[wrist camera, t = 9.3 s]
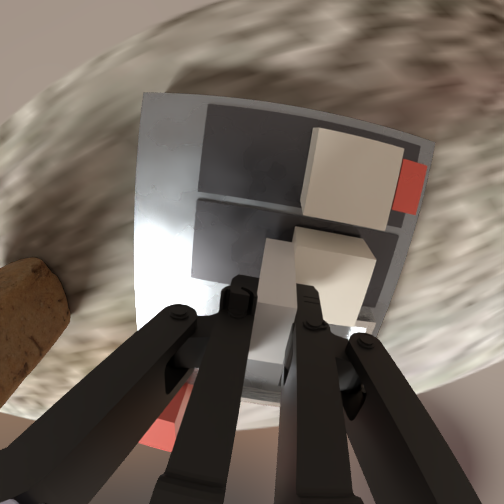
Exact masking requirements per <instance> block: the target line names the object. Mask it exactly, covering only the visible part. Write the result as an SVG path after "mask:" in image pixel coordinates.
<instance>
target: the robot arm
mask: <svg viewBox="0 0 504 504" xmlns="http://www.w3.org/2000/svg"><path fill="white" fill-rule="evenodd" d="M319 299H320V297H319V292H318V291H317V290H316V289H315V287H314V286H310V285H304V284H298V283H296V274H295V258H294V244H293V243H292V242H287V241H281V240H275V239H269V238H266V243H265V249H264V254H263V260H262V266H261V272H260V278H257V277H251V276H246V275H240V274H238V275H237V276H235V277H234V278H232V281H231V284H230V285H228V286H226V287H224V288H223V289H222V290H221V296H220V305H219V311H218V313H215V314H212V315H206V316H197V312H196V311H195V309H194V308H192V307H190V306H188V305H184V304H172V305H168V306H166V307H164V308H163V309H162V310H161V311H160V312H158V313H157V314H156V315H155V316H154V317H153V318H151V319H150V320H149V321H148V322H147V323H146V324H145V325H143V326H142V327H141V328H140V329H139V330H138V331H137V332H135V333H134V334H133V335H132V336H131V337H130V338H128V339H127V340H126V341H125V342H124V343H123V344H122V345H120V346H119V347H118V348H117V349H116V350H115V351H114V352H113V353H111V354H110V355H109V356H108V357H107V358H106V359H105V360H103V361H102V362H101V363H100V364H99V365H98V366H97V367H96V368H94V369H93V370H92V371H91V372H90V373H89V374H88V375H86V376H85V377H84V378H83V379H82V380H81V381H80V382H79V383H77V384H76V385H75V386H74V387H73V388H72V389H71V390H70V391H69V392H67V393H66V394H65V395H64V396H63V397H62V398H61V399H60V400H58V401H57V402H56V403H55V404H54V405H53V406H52V407H51V408H50V409H48V410H47V411H46V412H45V413H44V414H43V415H42V416H41V417H40V418H38V419H37V420H36V421H35V422H34V423H33V424H32V425H31V426H30V427H29V428H27V430H25V431H24V432H23V433H22V434H21V435H20V436H19V437H18V438H17V439H15V440H14V441H13V442H12V443H11V444H10V445H9V446H8V447H7V448H5V449H2V450H0V504H88V503H89V502H90V501H91V500H92V498H93V497H94V496H95V495H96V494H97V492H98V491H99V490H100V489H101V487H102V486H103V485H104V484H105V483H106V482H107V480H108V479H109V478H110V477H111V475H112V474H113V473H114V472H115V470H116V469H117V468H118V467H119V466H120V464H121V463H122V462H123V461H124V460H125V458H126V457H127V456H128V455H129V453H130V452H131V451H132V449H133V448H134V447H135V446H136V445H137V443H138V442H139V441H140V440H141V438H142V437H143V436H144V435H145V433H146V432H147V431H148V430H149V428H150V427H151V426H152V425H153V423H154V422H155V421H156V420H157V418H158V417H159V416H160V414H161V413H162V412H163V411H164V409H165V408H166V407H167V406H168V404H169V403H170V402H171V400H172V399H173V398H174V397H175V395H176V394H177V393H178V391H179V390H180V389H181V388H182V386H183V385H184V384H185V382H186V381H187V380H188V378H189V377H190V376H191V375H192V373H193V371H194V369H195V368H199V370H198V373H197V376H196V379H195V382H194V385H193V388H192V391H191V394H190V397H189V400H188V403H187V406H186V409H185V413H184V416H183V419H182V422H181V425H180V428H179V431H178V434H177V437H176V440H175V443H174V446H173V449H172V452H171V455H170V458H169V462H168V465H167V468H166V470H165V472H164V474H162V475H160V477H159V478H158V480H157V483H156V485H155V488H154V491H153V494H152V497H151V500H150V503H149V504H223V502H224V496H225V490H226V483H227V477H228V471H229V466H230V460H231V454H232V449H233V443H234V437H235V431H236V426H237V420H238V414H239V408H240V402H241V396H242V390H243V384H244V378H245V372H246V366H247V360H248V359H252V360H258V361H264V362H271V363H277V364H283V360H284V357H285V362H284V367H283V370H282V374H281V377H280V380H279V384H278V386H281V400H280V419H279V437H278V453H277V468H276V482H275V497H274V504H364V503H363V501H362V499H361V498H360V497H357V496H355V495H354V493H353V490H352V481H351V471H350V462H349V452H348V443H347V435H348V438H349V440H350V442H351V445H352V447H353V450H354V452H355V454H356V457H357V459H358V462H359V464H360V467H361V469H362V471H363V474H364V476H365V479H366V481H367V483H368V486H369V488H370V491H371V493H372V496H373V498H374V501H375V503H376V504H482V503H481V501H480V500H479V498H478V496H477V494H476V492H475V491H474V489H473V487H472V485H471V483H470V482H469V480H468V478H467V477H466V475H465V473H464V471H463V470H462V468H461V466H460V464H459V463H458V461H457V459H456V458H455V456H454V454H453V453H452V451H451V449H450V448H449V446H448V444H447V443H446V441H445V440H444V438H443V436H442V435H441V433H440V432H439V430H438V428H437V427H436V425H435V423H434V422H433V420H432V419H431V417H430V416H429V414H428V412H427V411H426V409H425V408H424V406H423V404H422V403H421V401H420V400H419V398H418V397H417V395H416V394H415V392H414V391H413V389H412V388H411V386H410V385H409V383H408V382H407V380H406V379H405V377H404V376H403V374H402V373H401V371H400V370H399V368H398V367H397V365H396V364H395V362H394V361H393V359H392V358H391V356H390V355H389V353H388V352H387V350H386V349H385V347H384V346H383V345H382V343H381V342H380V341H379V340H378V339H377V338H376V337H374V336H373V335H371V334H369V333H365V332H356V333H353V334H352V335H350V338H349V339H346V338H343V337H340V336H337V335H335V334H333V333H332V332H331V330H330V326H329V324H328V323H327V322H326V321H325V320H323V315H322V309H321V305H320V304H321V303H320V300H319ZM346 433H347V435H346Z"/></svg>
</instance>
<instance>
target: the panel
mask: <svg viewBox="0 0 504 504" xmlns="http://www.w3.org/2000/svg"><path fill="white" fill-rule="evenodd" d="M313 128H324V129H329V130H333V131H338V132H342V133H347V134H351V135H355V136H359V137H364V138H368V139H372V140H375V141H379V142H383V143H387V144H390V145H394V146H397V147H401V148H404V153H403V158H402V163H401V167H400V172H399V177H398V181H397V185H396V190H395V194H394V198H393V202H392V206H391V210H390V214H389V218H388V222H387V225H386V229H385V231H382V230H377V229H372V228H367V227H362V226H357V225H352V224H347V223H342V222H337V221H332V220H326V219H321V218H316V217H310V216H305V215H303V212H302V207H301V202H300V198H301V193H302V187H303V182H304V176H305V171H306V165H307V160H308V154H309V148H310V142H311V137H312V131H313ZM434 147H435V142H433V141H430V140H427V139H424V138H421V137H418V136H415V135H412V134H408V133H405V132H402V131H399V130H395V129H392V128H388V127H385V126H381V125H377V124H374V123H370V122H366V121H362V120H358V119H354V118H350V117H346V116H341V115H337V114H332V113H328V112H323V111H318V110H313V109H307V108H302V107H297V106H291V105H285V104H278V103H272V102H265V101H258V100H250V99H242V98H233V97H223V96H211V95H198V94H181V93H148V92H144V94H143V102H142V110H141V119H140V129H139V140H138V152H137V166H136V184H135V213H134V268H135V296H136V314H137V329H138V330H139V329H140V328H141V327H142V326H143V325H145V324H146V323H147V322H148V321H149V320H150V319H151V318H153V317H154V316H155V315H156V314H157V313H158V312H160V311H161V310H162V309H163V308H164V307H166V306H168V305H172V304H184V305H188V306H190V307H192V308H194V309H195V311H196V312H197V316H206V315H212V314H215V313H218V311H219V305H220V296H221V290H222V289H223V288H224V287H226V286H228V285H230V284H231V281H232V278H234V277H235V276H237V275H238V274H240V275H246V276H251V277H257V278H260V272H261V266H262V260H263V254H264V249H265V243H266V238H269V239H275V240H281V241H287V242H292V239H293V234H294V229H295V226H297V227H302V228H308V229H313V230H319V231H324V232H330V233H335V234H341V235H346V236H351V237H356V238H362V239H364V241H365V242H366V244H367V246H368V247H369V249H370V250H371V252H372V253H373V255H374V257H375V258H376V263H375V267H374V270H373V273H372V276H371V279H370V282H369V285H368V288H367V291H366V294H365V297H364V300H363V303H362V306H361V309H360V312H359V314H358V317H357V320H356V323H355V325H354V327H349V326H342V325H334V324H329V326H330V330H331V332H332V333H333V334H335V335H337V336H340V337H343V338H346V339H349V338H350V335H352V334H353V333H356V332H365V333H369V334H371V335H373V336H374V337H376V336H377V334H378V331H379V329H380V326H381V324H382V322H383V319H384V317H385V314H386V312H387V309H388V306H389V304H390V301H391V299H392V296H393V293H394V290H395V288H396V285H397V282H398V279H399V276H400V274H401V271H402V268H403V265H404V262H405V259H406V256H407V252H408V249H409V246H410V243H411V240H412V236H413V233H414V230H415V226H416V223H417V219H418V215H419V212H420V208H421V204H422V200H423V196H424V192H425V188H426V184H427V180H428V175H429V171H430V166H431V162H432V157H433V152H434ZM284 362H285V357H284V360H283V364H277V363H271V362H264V361H258V360H252V359H248V360H247V366H246V372H245V378H244V384H243V390H242V396H241V401H242V402H248V403H254V404H261V405H268V406H275V407H280V400H281V386H278V384H279V380H280V377H281V374H282V370H283V367H284ZM198 370H199V368H195V369H194V371H193V373H192V375H191V376H190V377H189V378H188V380H187V381H186V382H185V383H187V384H192V385H194V382H195V379H196V376H197V373H198Z"/></svg>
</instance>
